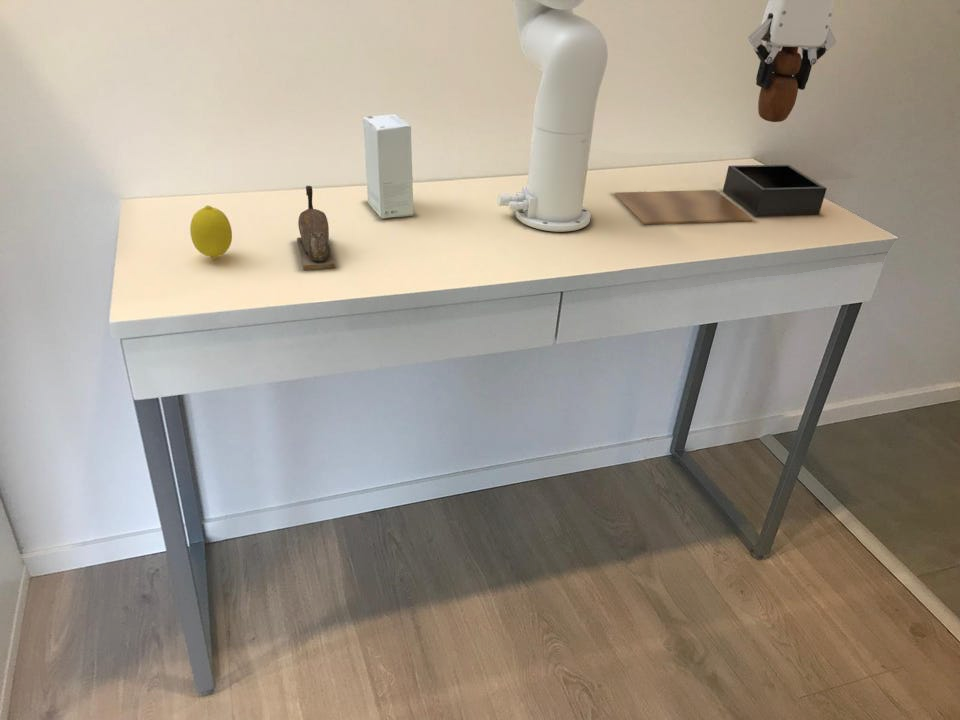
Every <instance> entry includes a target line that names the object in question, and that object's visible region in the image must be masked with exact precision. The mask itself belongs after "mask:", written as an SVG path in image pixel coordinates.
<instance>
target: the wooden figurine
mask: <svg viewBox="0 0 960 720" xmlns="http://www.w3.org/2000/svg"><path fill="white" fill-rule="evenodd" d="M772 64H774V70H773V74H772V78H771V82H770V86H769V88H768V89H764V88H762V87H760V91H759V95H758V102H757V103H758V105H757V113H758V115H759V117H760V118H761V119H762V120H765V121H767V122H771V123H781V122H784V121H785V120H786V119H787V118H788V117H789V116H790V114H791V112H792V110H793V109H794V106H795V105H796V101H797V98H798V92H799V89H798V83H797V80H796V78H795V77H793V76H794V75H795V74H796V73H798V71H799V70H800V67H801V53H800V52H799V47H785V46H781V48H780V50H779V51H778V53H777V55H776V56H775V58H774V60H773V61H772Z"/></svg>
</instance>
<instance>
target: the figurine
mask: <svg viewBox="0 0 960 720" xmlns="http://www.w3.org/2000/svg"><path fill="white" fill-rule="evenodd" d="M305 192H306V193H305V194H306V196H307V207H308V208H307V209H305V210H303V211H301V212H300V214H299V216H298V223H297V224H298V231H299V236H300V237H297V238H296V243H297V247H298V252H299V257H300V259H301V265H302V269H303V271H310V270H324V269H334V268H336V262H335V260H334V256H333V253H332V250H331V247H330V243H329V242H330V232H329V231H330V229H329V227H330V226H329V221H328V218H327V215H326V213H325V212H324V211H322V210H320V209H316V208H314V206H313V193H314V191H313V186H312V185H306V186H305Z"/></svg>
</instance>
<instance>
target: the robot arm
mask: <svg viewBox="0 0 960 720" xmlns="http://www.w3.org/2000/svg"><path fill="white" fill-rule="evenodd" d="M584 1H585V0H512V7H513V12H514V19H515V24H516V31H517V36H518V42H519V46H520V48H521V52H522V54H523V56H524V58H525V59H526V60H527V61H528V63H529V64H530V65H532V66H533V67H534V68H535V69H537V70H539V71H540V72H541V73H542V76H541V81H540V84H539V88H538V91H537V93H536V97H535V101H534V108H533V117H532V131H531V141H530V153H529V164H528V175H527V186H522V187H521V191H519V192H516V194H509V193H505V194H503V193H502V194H498V195H497V205H498V207H508V210H509V211H515V217H516V219H517V220H518V221H519V222H520V223H522V224H524V225H526V226H528V227H531V228H533V229H537V230H542V231H546V232H556V233H557V232H559V233H561V232H565V233H566V232H574V231H578V230H581V229H583V228H585V227H587V226H588V225H589V224H590V221H591V212H590V211H589V209H587V208H586V207H585V206H584V199H585V190H586V183H587V175H588V168H589V160H590V152H591V144H592V137H593V129H594V121H595V113H596V107H597V102H598V97H599V93H600V89H601V85H602V82H603V79H604V77H605V76H604V75H605V73H606V69H607V64H608V54H609V53H608V45H607V42H606V39H605V36H604V34H603V33H602V31H601V30H600V29H599V28H598V26H596V25H595V24H594V23H592V22H591V21H590V20H588V19H586V18H584V17H581V16H579V15H577V14H574V12H573V9H574V8H577V7H579V6H580V5H581V4H582V3H584ZM835 1H836V0H768V1H767V4H766V7H765V11H764V12H763V17H762V19H761V22H760V23H761V24H760V26H758V27H757V28H756V29H755V30H754V31H753V32H751V34H749V36H748V38H747V39H748V42H749V43H750V45H751V47H753V51H754V52H755V54H756V56H757V59H758V60H759V61H760V62H759V64H758V65H759V66H758V70H757V72H756V73H757V74H756V77H755V80H756V82H755V84H756V86H757V87H760V88H761V87H762V88H764V89H768V88H769V86H770V82H771V78H772V74H773V73H774V72H773V70H774V64H772V61H773V60H774V58H775V56H776V55H777V53H778V51H781V49H782V46H785V47H798V48H800V55H801V67H800V70H799V71H798V73H796V74H795V75H792V76H793V77H795V78H796V80H797V83H798V90H802V91H804V90H805V89H806V85H807V83H808V81H809V78H810V74H811V70H812V68H813V66H815V65H816V64H817V63H818V60H819V59H820V58H822V57H823V56H824V55H825V54H826V52H827V51H829V50H830V49H831V48H832V47H833V46H835V45H836V42H837V40H836V38H835V36H834V34H833V32H832V29H831V28H830V27H831V21H832V17H833V13H834V7H835ZM763 42H765V44H764V43H763Z"/></svg>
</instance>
